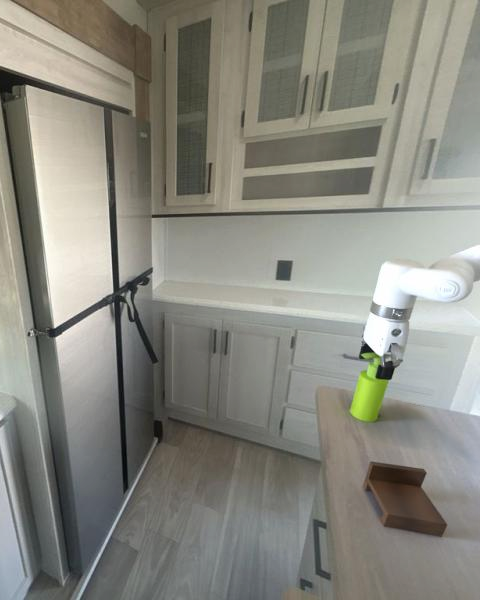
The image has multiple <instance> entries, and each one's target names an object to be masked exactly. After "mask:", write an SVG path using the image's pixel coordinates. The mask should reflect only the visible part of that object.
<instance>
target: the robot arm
mask: <svg viewBox="0 0 480 600" xmlns="http://www.w3.org/2000/svg"><path fill="white" fill-rule="evenodd" d="M378 273H379V274H378V277H377V281H376V285H375V290H374V292H373V296H372V301H371V304H370V308H369V315H368V318H367V321H366V324H365V325H364V326H363V327H362V336H361V337H362V340H361V346H360V350H359V354H358V358H359V359H360V360H366V359H365V358H364V357H363V356H362V355H361V354H364V353H377V354H378V355H379V356H380V361H381V365H378V368H377V372H376V375H375V377H376V379H383V380H389V381H391V380H392V379H393V377H394V373H395V370H396V369H397V368H398V367H400V365H401V364H402V363H403V361H404V358H403V357H404V355H405V351H406V348H407V345H408V339H409V334H410V320H411V317H412V314H413V310H414V307H415V305H416V301H417V298H422V299H426V300H429V301H433V302H437V303H443V304H450V303H457V302H460V301H462V300H464V299H467V298H468V297H469V296H470V294H471V293H472V291H473V289H474V283H475V282H479V281H480V244H477V245H474V246H472V247H469V248H467V249H464V250H461V251H458V252H456V253H453V254H451V255H448V256H446V257H443V258H441V259H439V260H437V261H435V262H433V263H432V264H431V265H430V266H428V267H425V265H424V264H423V263H421V262H419V261H417V260H416V261H415V260H412V259H411V260H410V259H405V258H404V259H403V258H402V259H400V258H399V259H397V258H396V259H389V260H386V261H385V262H383V263H382V264H381V267H380V269H379V272H378ZM388 353H389V354H388ZM385 357H388V358H390V360H387V359H385ZM374 359H375V358H373V359H367V360H369V361H374Z"/></svg>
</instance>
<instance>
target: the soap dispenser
mask: <svg viewBox="0 0 480 600" xmlns="http://www.w3.org/2000/svg"><path fill="white" fill-rule="evenodd" d="M361 355H362V356H363V357H364V358H365V359H364V360H368V359H373V358H374V359H373V361H370V362H369V363H368V366H367V369H365V370H361V371H360V372H359V375H358V378H357V382H356V383H357V384H356V387H355V389H354V390H355V391H354V394H353V398H352V402H351V406H350V409H349V412H350V414H351V415H352V416H353V417H354V418H356V419H358V420H360V421H362V422H367V423H374V422H376V421H377V420H378V417H379V414H380V410H381V407H382V404H383V400H384V397H385V394H386V391H387V387H388V384H389V381H390V380H383V379H376V377H375V375H376V372H377V368H378V365H381V361H380V356H379V355H378V354H377V353H364V354H361ZM388 359H389V357H385V360H388Z"/></svg>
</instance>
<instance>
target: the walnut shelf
mask: <svg viewBox="0 0 480 600" xmlns="http://www.w3.org/2000/svg"><path fill="white" fill-rule="evenodd" d="M427 474H428V473H427V471H426V470H425V468H420V467H414V466H406V465H399V464H392V463H385V462H379V461H370V462H369V465H368V467H367V471H366V475H365V478H364V481H363V484H362V488H363V490H364V491H365V492H369V493H372V494H373V496H374V497H375V499H376V501H377V503H378V505H379V507H380V508H381V511H382V515H381V518H380V522H381V524H382V526H383V527H386V528H391V529H397V530H401V531H407V532H412V533H416V534H417V533H418V534H424V535H427V536H434V537H439V538H442V537H443V535H444V533H445V531H446V529H447V527H448V523H447V521H446V520H445V519H444V517H443V515H442V514H441V513H440V512H439V510H438V509H437V508H436V506H435V505H434V503H433V502H432V501H431V499H430V498H429V496H428V494H427V493H426V492H425V490H424V488H422V485H423V484H424V481H425V479H426V475H427Z"/></svg>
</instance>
